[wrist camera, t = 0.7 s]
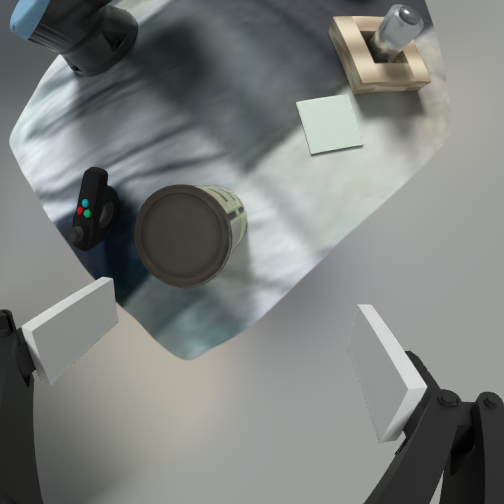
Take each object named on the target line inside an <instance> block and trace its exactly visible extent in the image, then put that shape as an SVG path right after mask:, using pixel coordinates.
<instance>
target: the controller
mask: <svg viewBox="0 0 504 504" xmlns="http://www.w3.org/2000/svg"><path fill="white" fill-rule="evenodd" d="M107 182H108V173H107V171H105V170H104V169H101V168H97V167H91V168H89V169H88V170H87V171H85V173H84V176H83V180H82V185H81V189H80V194H79V199H78V204H77V210H76V213H75V215H74V217H73V227H72V228H70V229H69V230H68V239H69V241H70V242H72V244H73V245H74V246H75V247H76V248H78V249H80V250H82V251H89V250H90V248H94V247H95V246H96V245H98V244H99V243H101V242H102V241H103V240H104V239H105V238H106V237H107V236H108V235H109V233H110V232H111V230H112V228H113V226H114V224H115V222H116V219H117V215H118V209H119V201H118V195H117V193H116V191H115V190H114V189H113V188H112V187H111V186H108V185H107Z"/></svg>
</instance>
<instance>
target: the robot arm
mask: <svg viewBox="0 0 504 504" xmlns="http://www.w3.org/2000/svg"><path fill="white" fill-rule="evenodd" d="M111 1H113V0H20V1H19V2H18V4H17V6H16V8H15V10H14V12H13V14H12V17H11V21H10V29H11V31H12V32H13V33H14V34H16V35H18V36H20V37H21V38H23V39H24V40H29V41H31V42H33V43H36V44H38V45H41V46H43V47H45V48H47V49H50V50H52V51H54V52H56V53H59V54H61V55H62V57H63V58H64V59H65V61H66V62H67V64H68V65H69V66H70V68H71V69H72V70H73V71H74V72H76V73H78V74H80V75H83V76H94V75H97V74H100V73H102V72H104V71H106V70H107V69H109V68H110V67H112V66H113V65H114V64H115V63H117V62H118V61H119V60H120V59H121V58H122V57H123V56H124V55H125V53H126V52H127V51H128V49H129V48H130V46H131V45H132V43H133V41H134V39H135V37H136V34H137V28H138V26H137V21H136V19H135V18H134V17H133V16H132V15H131V14H130V13H129V12H127V11H126V10H123V9H119V8H116V7H113V6H110V5H107V4H108V3H110V2H111ZM117 323H118V317H117V310H116V302H115V293H114V284H113V278H106V277H101V278H100V279H98V280H96V281H94V282H93V283H91V284H89V285H88V286H86V287H84V288H82V289H81V290H79V291H77V292H76V293H74V294H72V295H71V296H69V297H68V298H66V299H64V300H62V301H61V302H59V303H57V304H56V305H54V306H53V307H51V308H49V309H48V310H46V311H45V312H43V313H41V314H40V315H38V316H37V317H35V318H33V319H32V320H30V321H29V322H27V323H26V324H24V325H23V326H21V328H19V329H17V330H16V327H15V323H14V320H13V316H12V313H11V311H9V310H0V504H44V503H43V500H42V496H41V491H40V486H39V480H38V473H37V466H36V458H35V448H34V431H33V391H34V377H33V375H32V372H33V371H34V370H36V371H37V373H38V376H39V378H40V380H41V381H43V382H45V383H47V384H49V385H50V386H51V385H52V384H53V383H54V382H55V381H56V380H57V379H58V378H59V377H60V376H61V375H63V374H64V373H65V372H66V371H67V370H68V369H69V368H70V367H71V366H72V365H73V364H74V363H75V362H76V361H77V360H78V359H79V358H80V357H81V356H82V355H83V354H84V353H85V352H86V351H88V350H89V348H91V347H92V346H93V345H94V344H95V343H96V342H97V341H98V340H99V339H100V338H101V337H102V336H103V335H105V334H106V333H107V332H108V331H109V330H110V329H111V328H112V327H113V326H114V325H116V324H117ZM347 353H348V355H349V358H350V361H351V363H352V366H353V369H354V371H355V374H356V377H357V380H358V382H359V385H360V388H361V391H362V393H363V396H364V399H365V402H366V405H367V408H368V411H369V414H370V417H371V420H372V423H373V426H374V429H375V432H376V436H377V439H378V442H379V443H382V442H388V441H395V440H397V439H398V437H399V436H400V434H401V433H402V431H404V433H405V435H406V438H405V440H404V441H403V443H402V444H401V446H400V447H399V449H398V450H397V451H396V453H395V457H394V459H393V461H392V462H391V464H390V466H389V467H388V469H387V471H386V472H385V474H384V475H383V477H382V478H381V480H380V481H379V483H378V484H377V486H376V487H375V489H374V490H373V492H372V493H371V494H370V496H369V497H368V498H367V500H366V501H365V503H364V504H429V503H430V501H431V499H432V496H433V495H434V492H435V490H436V488H437V485H438V483H439V480H440V478H441V475H442V473H443V470H444V473H443V482H442V489H441V496H440V502H439V504H504V404H503V401H502V399H501V398H500V397H499V396H498V395H497V394H495V393H492V392H483V393H481V394H480V395H479V396H478V398H477V400H476V401H475V402H462V401H461V399H460V398H459V396H458V395H457V394H456V393H454V392H452V391H450V390H445V389H440V387H439V386H438V385H437V383H436V381H435V380H434V379H433V377H432V376H431V374H430V373H429V372H428V371H427V368H426V367H425V366H423V363H422V361H421V360H420V359H419V357H418V356H416V355H415V354H414V353H412V352H411V351H404V350H403V349H402V347H401V346H400V344H399V343H398V342H397V340H396V339H395V337H394V336H393V334H392V333H391V332H390V330H389V329H388V327H387V326H386V325H385V323H384V322H383V320H382V319H381V318H380V316H379V315H378V313H377V312H376V311H375V309H374V308H373V307H372V305H365V304H358V305H357V309H356V313H355V318H354V323H353V326H352V330H351V334H350V338H349V342H348V346H347Z"/></svg>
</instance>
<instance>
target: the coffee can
mask: <svg viewBox="0 0 504 504" xmlns="http://www.w3.org/2000/svg"><path fill="white" fill-rule="evenodd" d="M246 226H247V216H246V211H245V208H244V206H243V204H242V202H241V201H240V199H239V198H238V197H237V196H236V195H235V194H234V193H233V192H231V191H229V190H228V189H225V188H223V187H219V186H191V185H182V184H181V185H171V186H167V187H164V188H162V189H160V190H158V191H156V192H155V193H153V194H152V195H151V196H150V197H149V198H148V199H147V200H146V201H145V203H144V204H143V205H142V207H141V208H140V210H139V213H138V215H137V218H136V222H135V230H134V239H135V245H136V249H137V252H138V255H139V257H140V259H141V261H142V263H143V264H144V266H145V267H146V268H147V269H148V271H149V272H150V273H151V274H152V275H154V276H155V277H156V278H157V279H159V280H160V281H162V282H164V283H166V284H169V285H171V286H175V287H181V288H190V287H196V286H199V285H202V284H205V283H207V282H209V281H210V280H212V279H213V278H214V277H215V276H216V275H217V274H218V273H219V272H220V271H221V270H222V269H223V267H224V266H225V264H226V262H227V260H228V258H229V256H230V254H231V253H232V252H233V250H234V249H235V247H236V246H237V245H238V243H239V242H240V241H241V239H242V238H243V236H244V233H245V230H246Z"/></svg>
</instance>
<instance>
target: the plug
mask: <svg viewBox="0 0 504 504" xmlns="http://www.w3.org/2000/svg"><path fill="white" fill-rule="evenodd" d="M423 27H424V24H423V21H422V19H421V17H420V15H419V14H418V12H417V11H416V10H414V9H413V8H411V7H409V6H404V5H400V4H396V5H393V6H392V7H391V9H390V11H389V12H388V14H387V15H386V17H385V18H384V20H383V21H382V23H381V24H380V26H379V28H378V29H377V31H376V32H375V34H374V35H373V37H372V38H371V40H370V42H369V43H368V45H367V48H368V50H369V52H370V54H371V57H372V59H373V61H374V64H376V63H391V62H392V61H393V60H394V59H395V58H396V57H397V55H398V54H399V53H400V52H401V51H402V50H403V49H404V48H405V47H406V46H407V45H408V44H409V43H410V42H411V41H412V40H413V39H414V38H415V37H416V36H417V34H418V33H419V32H420V31H421V30H422V29H423Z"/></svg>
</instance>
